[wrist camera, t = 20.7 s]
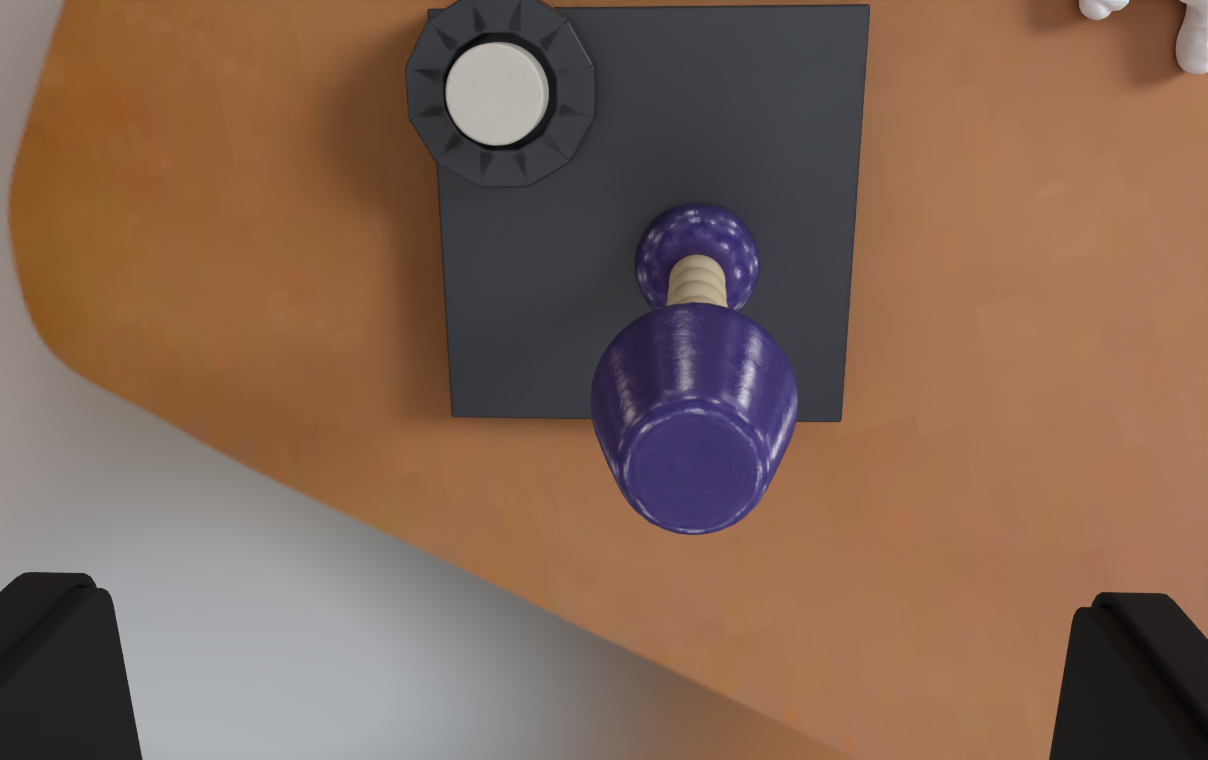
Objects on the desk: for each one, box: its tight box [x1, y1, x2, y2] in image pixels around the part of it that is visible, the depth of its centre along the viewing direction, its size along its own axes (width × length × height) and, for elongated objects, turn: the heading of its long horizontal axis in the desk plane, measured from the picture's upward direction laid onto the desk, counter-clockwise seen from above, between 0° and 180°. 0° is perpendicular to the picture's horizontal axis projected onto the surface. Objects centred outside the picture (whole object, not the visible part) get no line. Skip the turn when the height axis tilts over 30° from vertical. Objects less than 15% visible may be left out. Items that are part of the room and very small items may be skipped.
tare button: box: [446, 42, 549, 146], centre depth 32 cm, size 3×3×2 cm
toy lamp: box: [590, 204, 798, 535], centre depth 28 cm, size 5×5×17 cm
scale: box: [405, 0, 870, 422], centre depth 36 cm, size 14×14×4 cm
